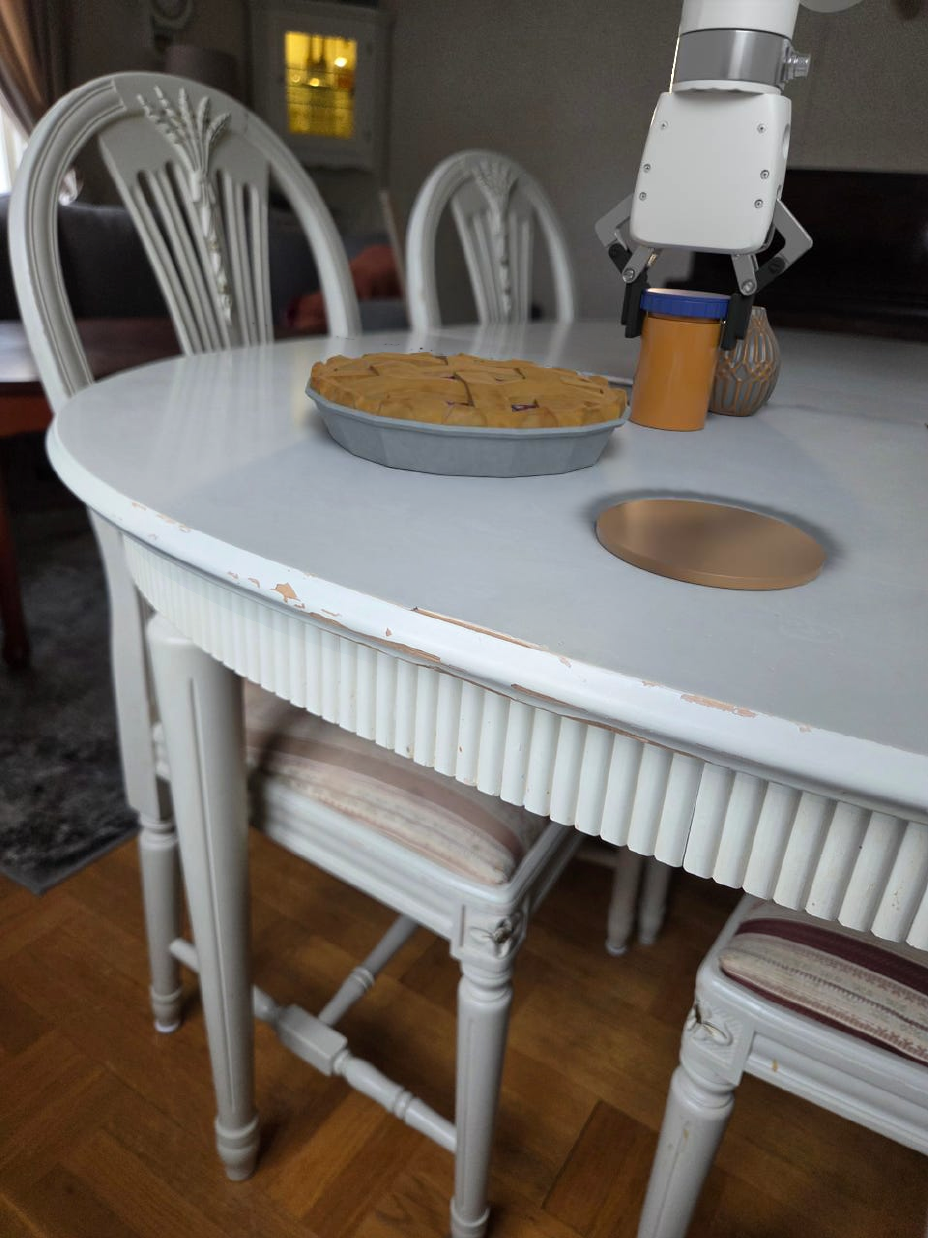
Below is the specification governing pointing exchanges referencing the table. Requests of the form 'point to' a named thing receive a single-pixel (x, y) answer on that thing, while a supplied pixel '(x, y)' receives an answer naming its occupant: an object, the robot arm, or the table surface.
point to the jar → (675, 371)
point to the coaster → (710, 544)
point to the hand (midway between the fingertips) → (680, 340)
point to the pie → (466, 413)
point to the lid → (685, 303)
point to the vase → (747, 370)
